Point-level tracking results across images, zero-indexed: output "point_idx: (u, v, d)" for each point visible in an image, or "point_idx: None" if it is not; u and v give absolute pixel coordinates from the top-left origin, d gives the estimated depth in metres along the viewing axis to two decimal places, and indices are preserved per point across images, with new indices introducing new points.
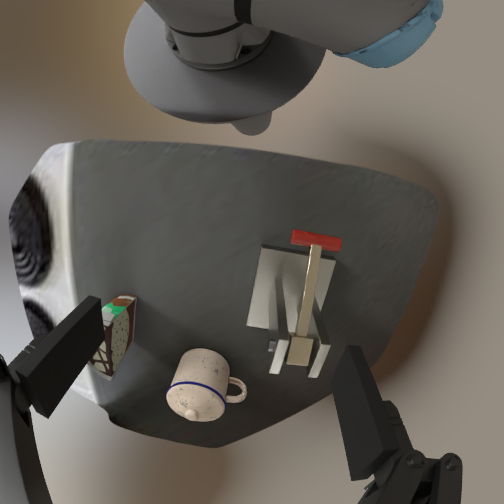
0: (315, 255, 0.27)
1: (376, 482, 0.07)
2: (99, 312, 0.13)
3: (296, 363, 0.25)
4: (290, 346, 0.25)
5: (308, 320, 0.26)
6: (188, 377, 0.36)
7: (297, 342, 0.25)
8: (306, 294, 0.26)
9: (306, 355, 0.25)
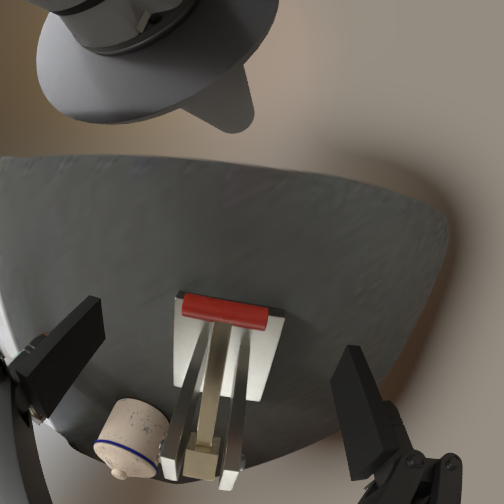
0: (220, 339, 0.16)
1: (376, 482, 0.07)
2: (99, 311, 0.13)
3: (196, 477, 0.14)
4: (185, 458, 0.14)
5: (212, 429, 0.15)
6: (112, 435, 0.25)
7: (194, 456, 0.14)
8: (206, 396, 0.15)
9: (209, 471, 0.14)
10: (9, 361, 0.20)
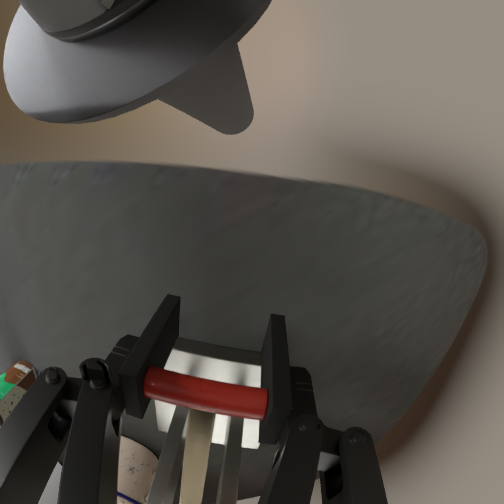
0: (199, 429, 0.10)
1: (280, 452, 0.09)
2: (178, 309, 0.15)
3: None
4: None
5: None
6: None
7: None
8: (186, 486, 0.09)
9: None
10: None
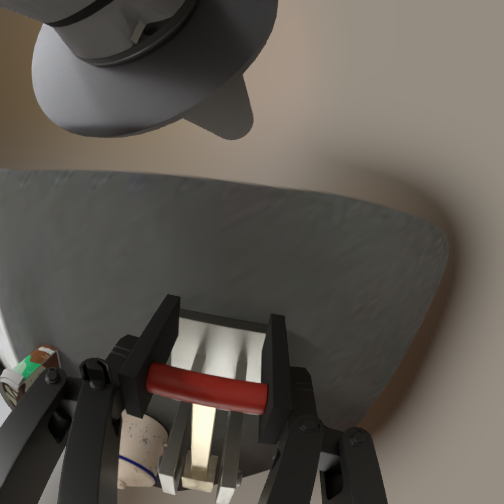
0: (203, 417, 0.11)
1: (280, 452, 0.09)
2: (178, 309, 0.15)
3: (195, 489, 0.14)
4: (182, 480, 0.13)
5: (205, 465, 0.13)
6: None
7: (190, 481, 0.13)
8: (195, 448, 0.12)
9: (206, 488, 0.14)
10: (8, 373, 0.20)
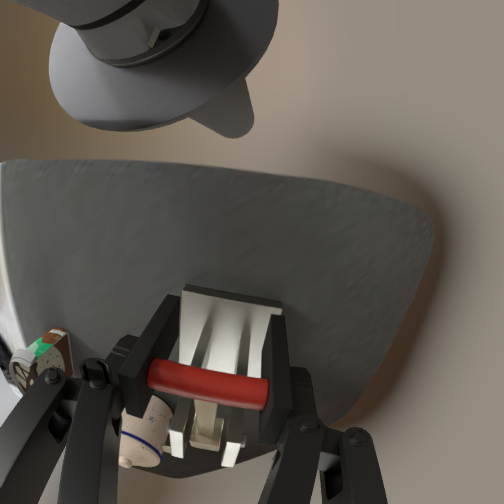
0: (205, 405, 0.11)
1: (280, 452, 0.09)
2: (178, 309, 0.15)
3: (203, 448, 0.18)
4: (191, 442, 0.17)
5: (211, 432, 0.15)
6: None
7: (198, 444, 0.16)
8: (201, 422, 0.14)
9: (213, 449, 0.17)
10: (21, 353, 0.23)
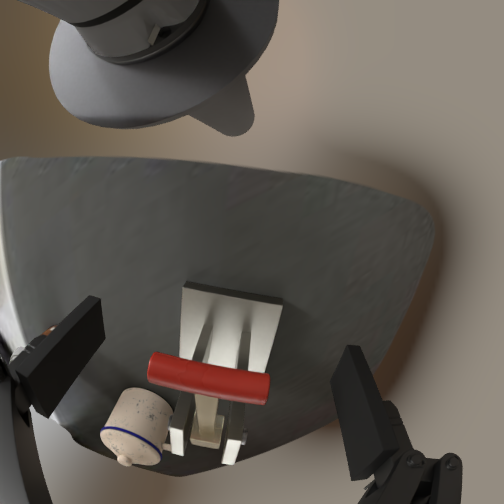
0: (206, 401, 0.11)
1: (376, 482, 0.07)
2: (99, 312, 0.13)
3: None
4: (191, 440, 0.17)
5: (212, 429, 0.15)
6: (119, 422, 0.27)
7: (198, 441, 0.16)
8: (201, 419, 0.14)
9: (213, 446, 0.17)
10: None
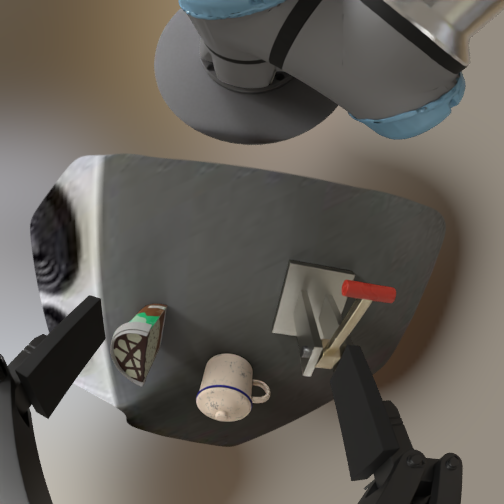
0: (363, 307, 0.23)
1: (376, 482, 0.07)
2: (99, 312, 0.13)
3: (322, 367, 0.30)
4: (320, 360, 0.29)
5: (340, 344, 0.27)
6: (219, 380, 0.39)
7: (326, 359, 0.28)
8: (344, 330, 0.26)
9: (331, 364, 0.29)
10: (133, 325, 0.35)
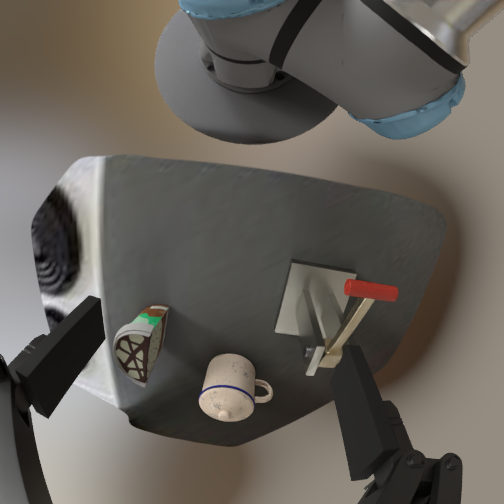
0: (365, 306, 0.23)
1: (376, 482, 0.07)
2: (99, 312, 0.13)
3: (325, 366, 0.30)
4: (322, 359, 0.29)
5: (343, 343, 0.27)
6: (221, 381, 0.39)
7: (329, 358, 0.28)
8: (346, 329, 0.26)
9: (334, 363, 0.29)
10: (135, 326, 0.35)
